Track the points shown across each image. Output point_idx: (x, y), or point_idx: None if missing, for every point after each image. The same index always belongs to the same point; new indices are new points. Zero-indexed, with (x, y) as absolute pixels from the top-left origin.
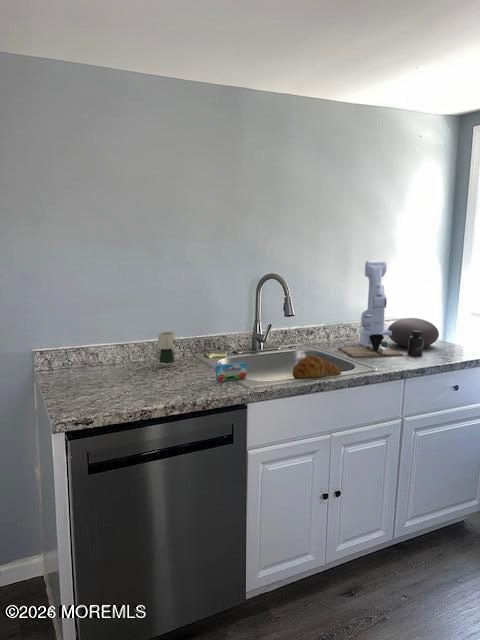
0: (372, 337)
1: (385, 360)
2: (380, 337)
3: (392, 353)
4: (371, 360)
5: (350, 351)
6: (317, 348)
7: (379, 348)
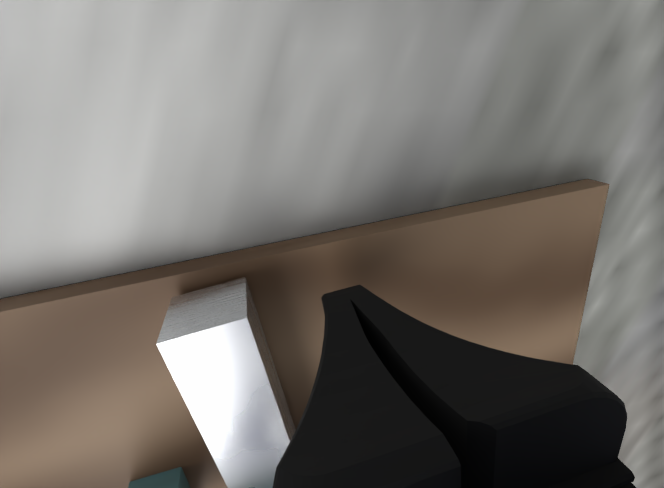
0: (600, 440)
1: (262, 41)
2: (421, 452)
3: (76, 353)
4: (459, 45)
5: (539, 356)
6: (655, 438)
7: (273, 385)
